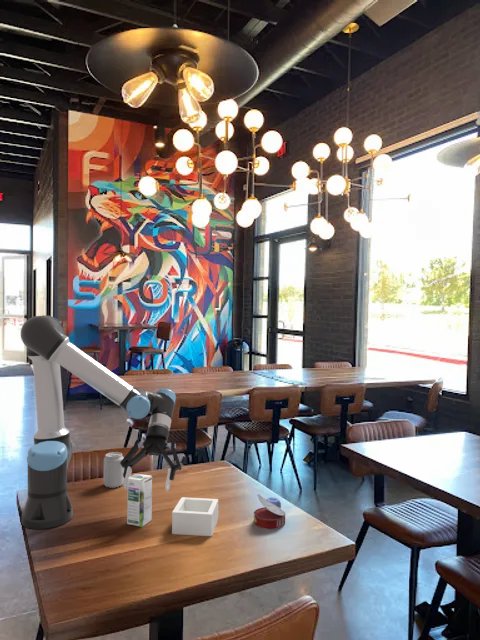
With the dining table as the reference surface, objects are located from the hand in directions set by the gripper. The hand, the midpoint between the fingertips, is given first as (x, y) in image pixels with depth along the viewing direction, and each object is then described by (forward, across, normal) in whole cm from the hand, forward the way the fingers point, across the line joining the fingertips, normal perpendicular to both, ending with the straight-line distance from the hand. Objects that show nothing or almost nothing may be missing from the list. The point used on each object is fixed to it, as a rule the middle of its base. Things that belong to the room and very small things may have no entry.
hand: (145, 488), depth 156 cm
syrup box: (+9, +1, -6) cm, 10 cm away
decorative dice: (-1, -40, -15) cm, 43 cm away
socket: (+9, -17, -5) cm, 20 cm away
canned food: (+5, -39, -9) cm, 41 cm away
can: (-13, +21, -28) cm, 37 cm away
